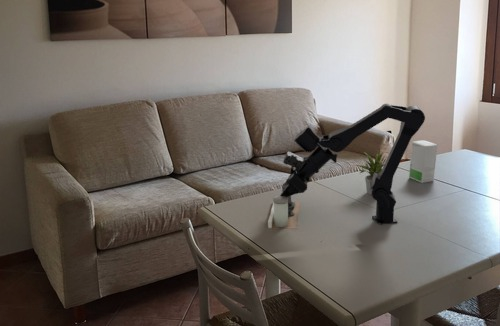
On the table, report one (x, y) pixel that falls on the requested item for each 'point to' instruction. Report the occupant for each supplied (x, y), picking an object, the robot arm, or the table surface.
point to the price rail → (271, 217)
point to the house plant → (372, 169)
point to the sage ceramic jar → (280, 211)
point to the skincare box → (423, 161)
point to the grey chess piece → (289, 202)
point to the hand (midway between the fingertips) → (281, 192)
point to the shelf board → (291, 218)
